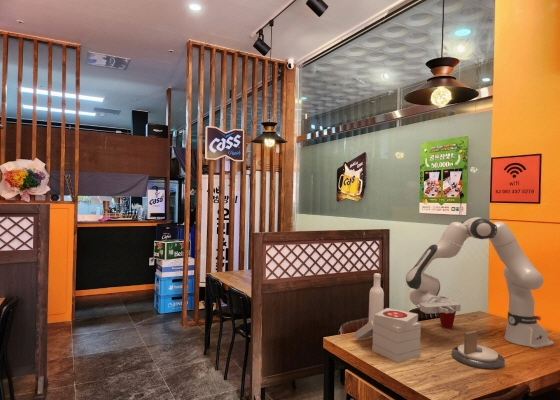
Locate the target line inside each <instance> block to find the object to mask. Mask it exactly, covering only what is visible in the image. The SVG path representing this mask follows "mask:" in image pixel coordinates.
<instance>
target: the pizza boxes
mask: <svg viewBox="0 0 560 400" xmlns="http://www.w3.org/2000/svg"><path fill="white" fill-rule="evenodd" d="M368 322H369V321H368ZM368 322H367V323H366V324H365V325H363V326H362V327H360V328H359V329H357V330H356V331H354V333H353V336H354V338H355V340H356V341H357V340H362V339H365V338H370V337H372V349H371V350H372V351H373V352H375V353H376V354H378V355H381V356H382V357H384V358H386V359H389V360H391V361H393V362H395V363H400V362H404V361H408V360H412V359H414V358H415V359H416V358H418V357H419V358H420V356H421V333H422V329H421V328H422V324H421V322H419V313H415V312H411V311H410V312H409V311H405V310H399V309H395V308H389V307H386V308H383V310H382V311H380V312H378V313H377V314H375V318H374V319H373V321H370V322H369V323H368Z"/></svg>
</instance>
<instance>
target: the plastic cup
mask: <svg viewBox="0 0 560 400" xmlns="http://www.w3.org/2000/svg"><path fill="white" fill-rule="evenodd" d="M456 313H457V311H454V313H447V314H446V313H442V312H441V313H438V314H439V321H440V326H441V328H443V329H448V330H451V329H453V326H454V322H455V318H456Z"/></svg>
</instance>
